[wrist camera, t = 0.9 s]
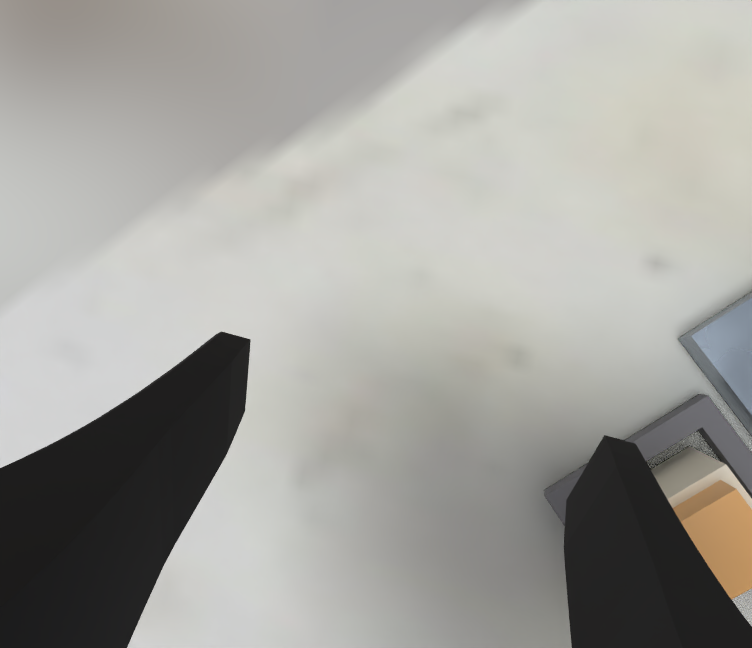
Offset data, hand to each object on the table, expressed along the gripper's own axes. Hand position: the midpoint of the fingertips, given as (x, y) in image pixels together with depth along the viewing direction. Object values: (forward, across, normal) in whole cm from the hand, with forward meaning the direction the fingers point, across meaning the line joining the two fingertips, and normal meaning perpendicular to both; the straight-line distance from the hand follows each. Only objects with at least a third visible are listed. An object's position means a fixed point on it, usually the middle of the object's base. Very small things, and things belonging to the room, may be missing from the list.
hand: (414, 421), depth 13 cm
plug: (+8, -10, +9) cm, 16 cm away
